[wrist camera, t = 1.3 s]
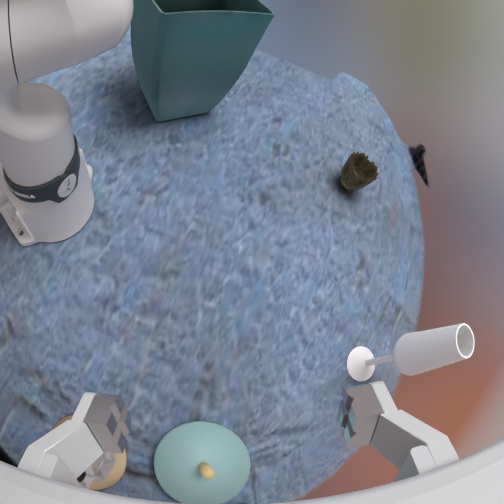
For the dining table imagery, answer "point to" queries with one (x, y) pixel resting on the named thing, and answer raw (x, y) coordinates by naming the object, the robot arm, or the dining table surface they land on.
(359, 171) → the cup
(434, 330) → the champagne flute
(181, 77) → the flower pot
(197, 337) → the dining table surface
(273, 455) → the dining table surface
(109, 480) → the stand
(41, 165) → the robot arm
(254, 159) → the dining table surface
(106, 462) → the sleeve
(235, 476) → the hub
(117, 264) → the dining table surface
